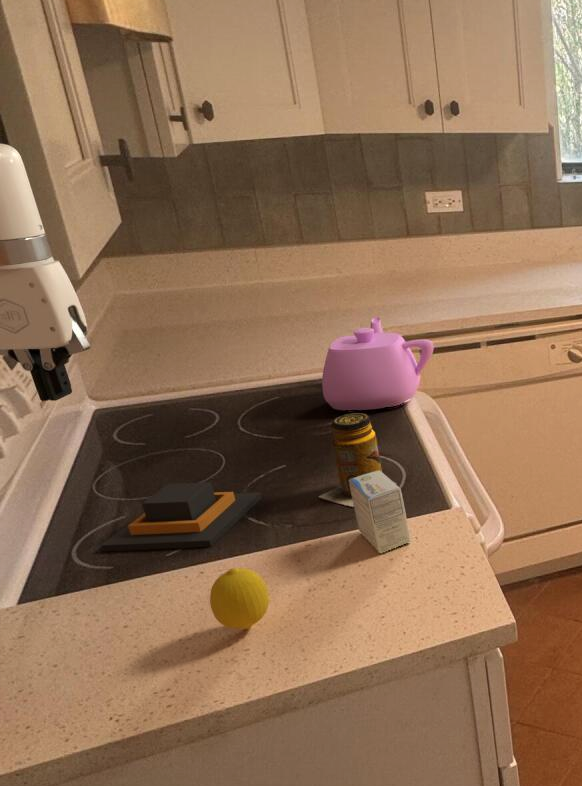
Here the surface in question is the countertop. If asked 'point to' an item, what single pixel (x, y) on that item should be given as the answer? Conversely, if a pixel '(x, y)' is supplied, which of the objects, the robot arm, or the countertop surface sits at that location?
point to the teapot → (372, 369)
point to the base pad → (184, 526)
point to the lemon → (239, 598)
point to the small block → (179, 502)
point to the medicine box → (379, 511)
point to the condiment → (352, 453)
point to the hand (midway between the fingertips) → (57, 396)
